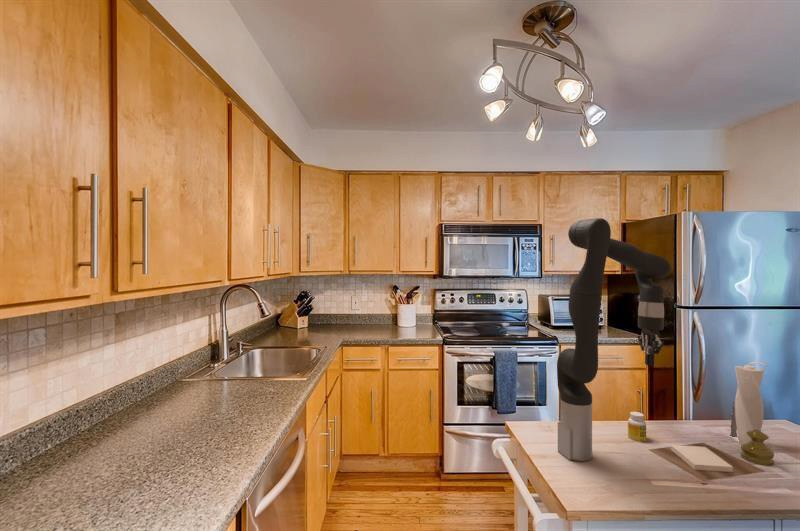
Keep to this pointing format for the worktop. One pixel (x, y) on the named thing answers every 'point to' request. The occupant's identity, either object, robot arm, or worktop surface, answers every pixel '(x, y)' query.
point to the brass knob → (757, 449)
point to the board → (737, 464)
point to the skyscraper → (747, 402)
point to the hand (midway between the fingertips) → (649, 365)
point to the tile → (701, 458)
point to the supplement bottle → (637, 427)
